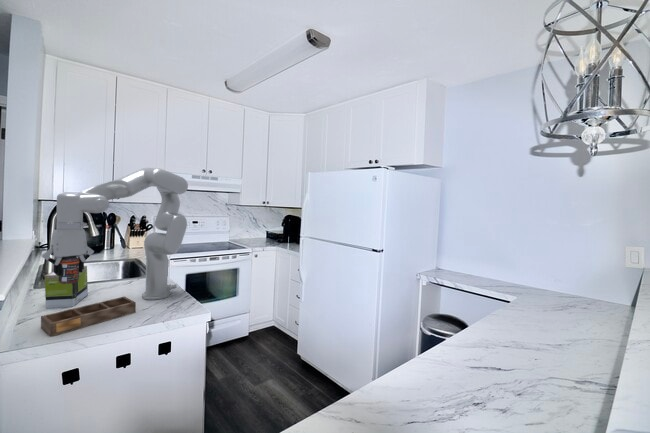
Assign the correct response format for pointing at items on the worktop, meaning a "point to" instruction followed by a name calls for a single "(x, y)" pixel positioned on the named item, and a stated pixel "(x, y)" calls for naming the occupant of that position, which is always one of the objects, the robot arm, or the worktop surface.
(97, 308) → the wooden compartment tray
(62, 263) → the supplement bottle
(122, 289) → the worktop surface
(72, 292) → the tea box
